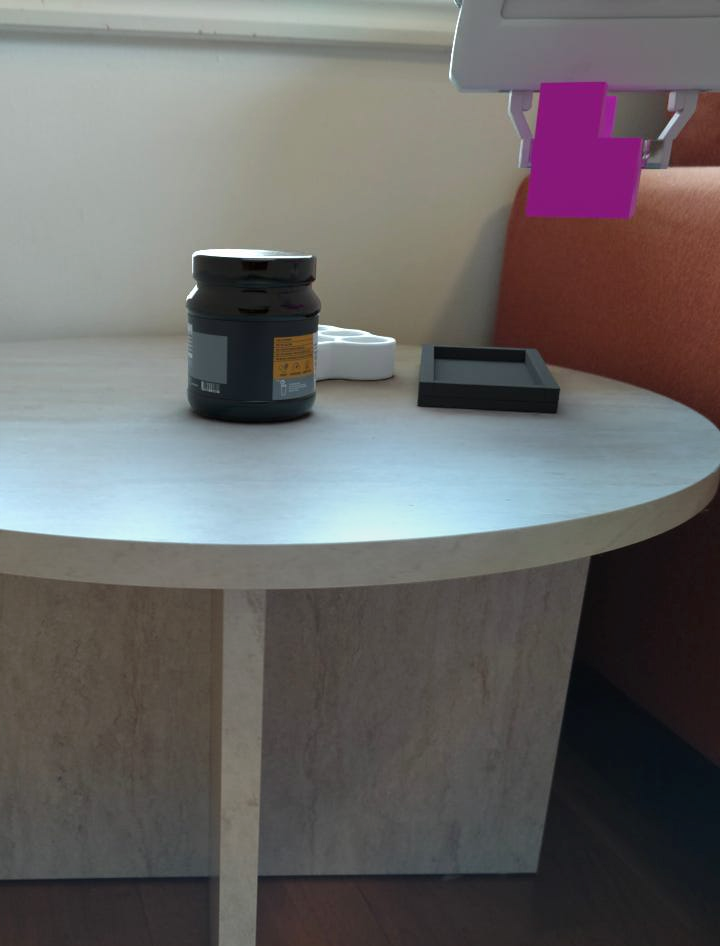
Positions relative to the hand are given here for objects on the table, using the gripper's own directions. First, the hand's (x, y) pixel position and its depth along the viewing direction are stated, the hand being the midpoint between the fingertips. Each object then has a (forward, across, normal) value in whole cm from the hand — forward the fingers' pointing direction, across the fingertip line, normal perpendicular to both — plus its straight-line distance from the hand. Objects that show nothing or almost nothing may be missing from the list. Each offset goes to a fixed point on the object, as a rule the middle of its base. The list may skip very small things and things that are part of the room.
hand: (591, 168), depth 69 cm
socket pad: (+18, -5, +19) cm, 27 cm away
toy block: (+3, 0, 0) cm, 3 cm away
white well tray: (+18, -22, +24) cm, 37 cm away
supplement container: (+18, -24, +3) cm, 30 cm away
